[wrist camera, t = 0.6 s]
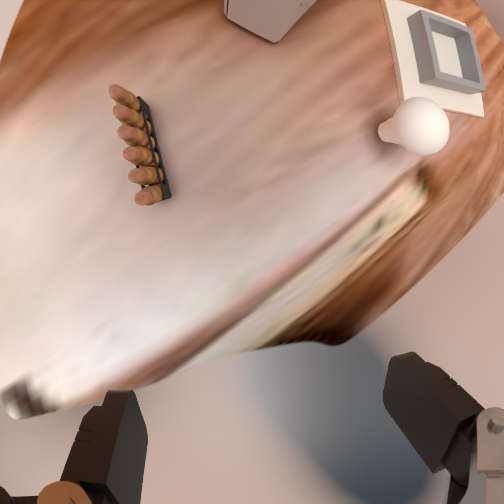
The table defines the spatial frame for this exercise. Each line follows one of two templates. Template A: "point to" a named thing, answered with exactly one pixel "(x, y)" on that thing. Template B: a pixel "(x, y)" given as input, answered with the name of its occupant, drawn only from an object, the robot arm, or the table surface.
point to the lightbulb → (417, 126)
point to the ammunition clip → (140, 146)
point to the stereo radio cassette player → (266, 15)
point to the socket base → (434, 58)
